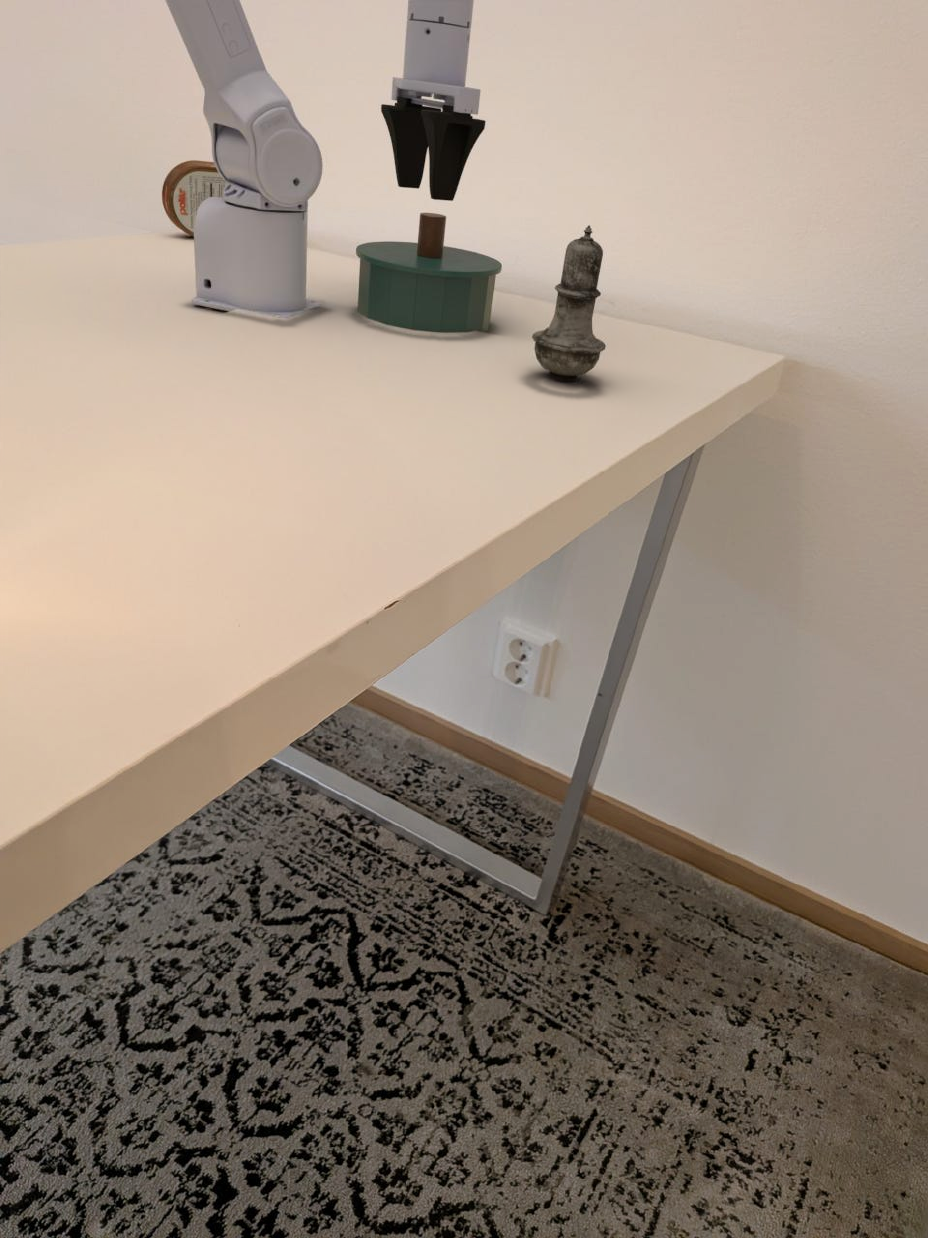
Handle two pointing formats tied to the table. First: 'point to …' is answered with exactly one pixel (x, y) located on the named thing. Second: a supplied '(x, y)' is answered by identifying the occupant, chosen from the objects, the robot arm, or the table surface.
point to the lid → (429, 254)
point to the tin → (190, 191)
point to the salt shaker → (573, 315)
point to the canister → (425, 300)
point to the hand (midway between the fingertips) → (424, 193)
